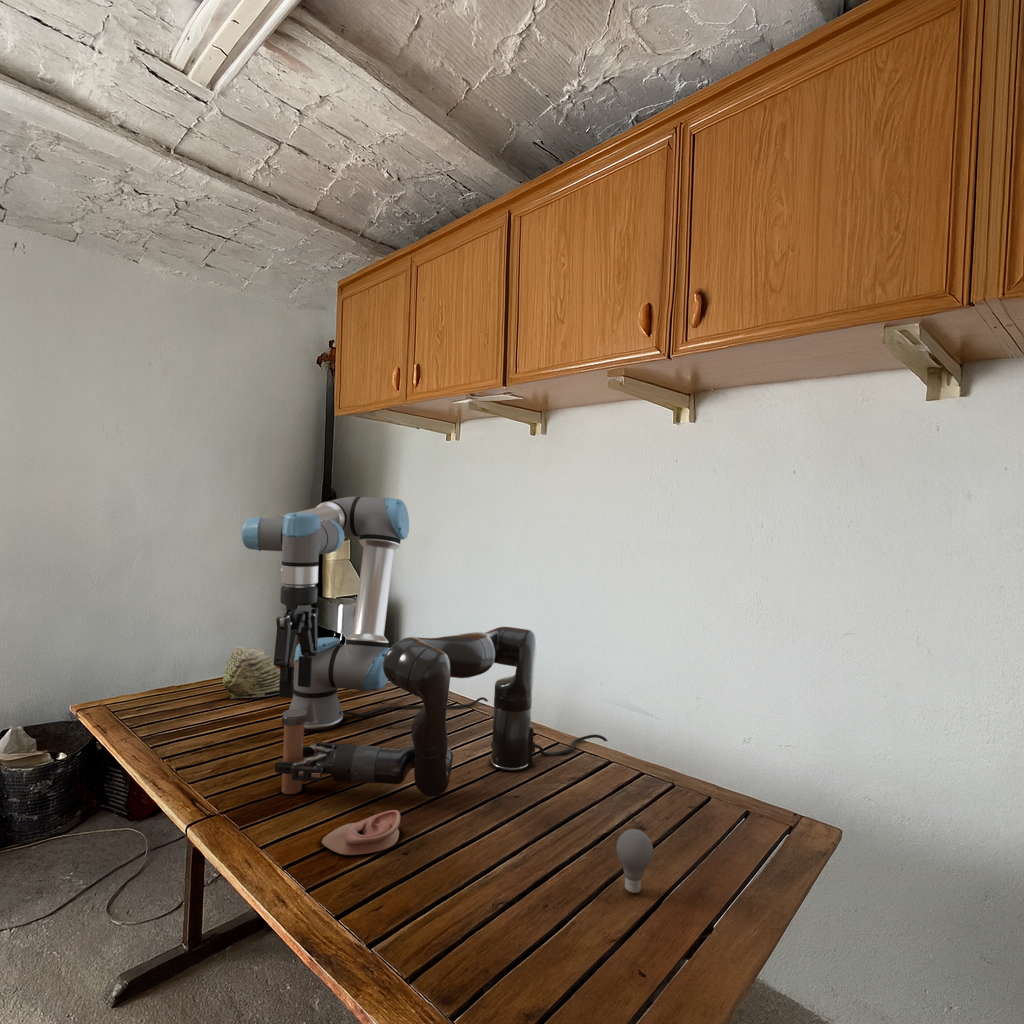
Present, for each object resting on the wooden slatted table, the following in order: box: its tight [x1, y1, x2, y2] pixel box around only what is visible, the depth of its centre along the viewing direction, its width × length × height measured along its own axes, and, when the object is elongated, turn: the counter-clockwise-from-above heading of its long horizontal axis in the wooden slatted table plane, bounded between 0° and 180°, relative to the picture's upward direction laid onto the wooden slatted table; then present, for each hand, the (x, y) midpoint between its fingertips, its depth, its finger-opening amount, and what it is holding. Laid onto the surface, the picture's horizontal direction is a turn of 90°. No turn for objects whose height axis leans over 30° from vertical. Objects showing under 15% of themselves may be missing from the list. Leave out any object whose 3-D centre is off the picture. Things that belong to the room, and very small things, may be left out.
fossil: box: [222, 646, 280, 699], centre depth 198 cm, size 9×18×15 cm, turn 132°
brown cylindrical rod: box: [281, 723, 305, 795], centre depth 136 cm, size 4×4×16 cm
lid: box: [281, 709, 307, 725], centre depth 136 cm, size 5×5×2 cm
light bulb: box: [615, 828, 654, 894], centre depth 106 cm, size 6×6×10 cm
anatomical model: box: [321, 809, 401, 856], centre depth 118 cm, size 13×4×12 cm
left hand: (295, 691), depth 136 cm, fingers open, 7 cm apart
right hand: (284, 758), depth 136 cm, fingers open, 8 cm apart
